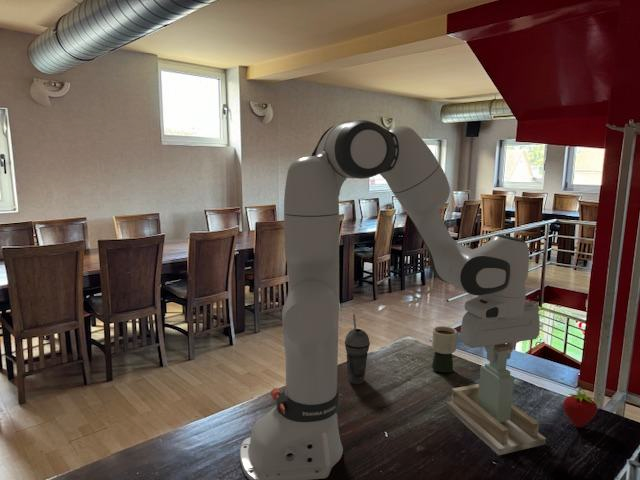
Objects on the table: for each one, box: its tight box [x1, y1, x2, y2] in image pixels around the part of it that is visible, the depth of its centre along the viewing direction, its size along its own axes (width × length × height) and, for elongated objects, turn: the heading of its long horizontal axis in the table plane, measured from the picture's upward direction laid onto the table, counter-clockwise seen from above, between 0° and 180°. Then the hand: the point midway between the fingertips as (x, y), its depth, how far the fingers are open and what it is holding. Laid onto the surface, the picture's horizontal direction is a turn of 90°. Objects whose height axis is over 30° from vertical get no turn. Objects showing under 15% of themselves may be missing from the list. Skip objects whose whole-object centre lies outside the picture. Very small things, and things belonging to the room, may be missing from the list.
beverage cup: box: [344, 314, 371, 385], centre depth 127 cm, size 7×7×20 cm
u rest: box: [445, 383, 547, 456], centre depth 108 cm, size 13×20×5 cm, turn 18°
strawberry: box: [563, 388, 598, 428], centre depth 107 cm, size 6×8×10 cm
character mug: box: [431, 325, 458, 373], centre depth 134 cm, size 11×7×13 cm, turn 11°
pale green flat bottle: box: [477, 343, 515, 422], centre depth 106 cm, size 7×4×18 cm, turn 18°
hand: (498, 359), depth 105 cm, fingers closed on pale green flat bottle, 3 cm apart
